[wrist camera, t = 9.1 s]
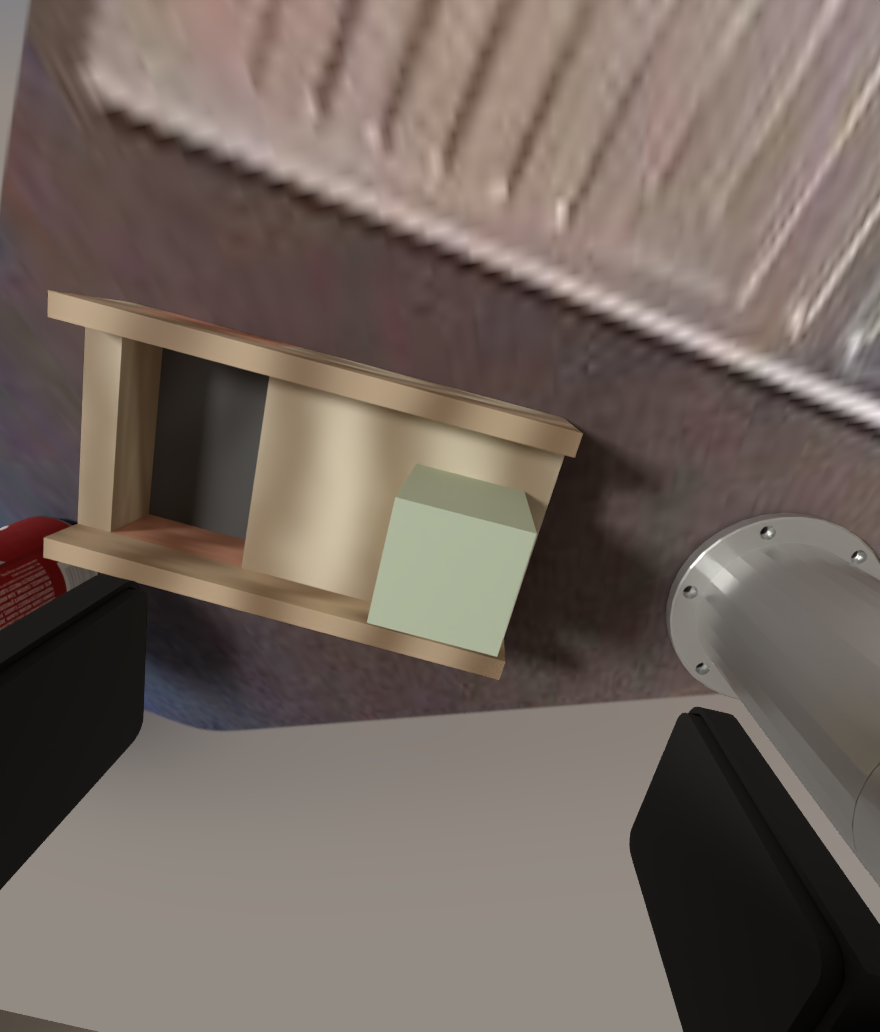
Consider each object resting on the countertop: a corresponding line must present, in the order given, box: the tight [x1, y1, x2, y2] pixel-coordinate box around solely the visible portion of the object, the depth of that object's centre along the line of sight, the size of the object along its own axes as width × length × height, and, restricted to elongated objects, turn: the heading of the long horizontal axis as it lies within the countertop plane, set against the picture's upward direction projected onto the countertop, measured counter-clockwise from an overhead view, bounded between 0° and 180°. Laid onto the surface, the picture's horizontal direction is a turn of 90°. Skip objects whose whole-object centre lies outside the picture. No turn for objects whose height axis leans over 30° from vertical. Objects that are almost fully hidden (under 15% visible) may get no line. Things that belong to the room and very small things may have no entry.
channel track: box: [43, 290, 583, 680], centre depth 30 cm, size 26×14×6 cm, turn 76°
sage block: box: [367, 463, 537, 657], centre depth 26 cm, size 6×6×7 cm
